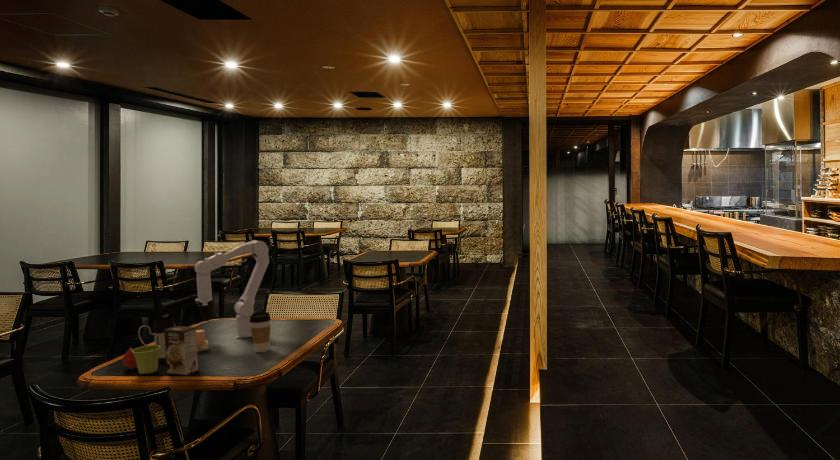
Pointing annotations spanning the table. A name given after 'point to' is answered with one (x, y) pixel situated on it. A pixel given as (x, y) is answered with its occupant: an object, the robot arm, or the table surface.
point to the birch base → (202, 346)
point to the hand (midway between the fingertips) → (206, 319)
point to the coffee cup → (260, 331)
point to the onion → (129, 359)
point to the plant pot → (147, 358)
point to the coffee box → (181, 350)
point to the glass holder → (160, 333)
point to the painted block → (200, 336)
